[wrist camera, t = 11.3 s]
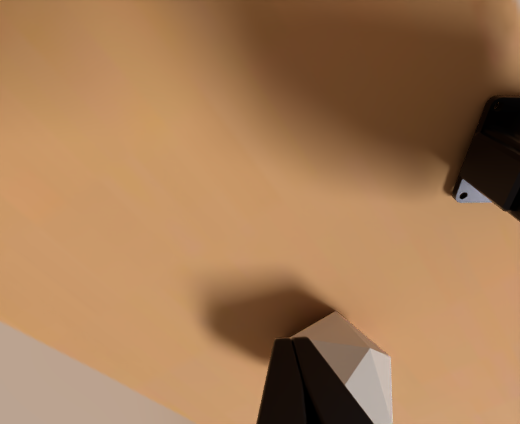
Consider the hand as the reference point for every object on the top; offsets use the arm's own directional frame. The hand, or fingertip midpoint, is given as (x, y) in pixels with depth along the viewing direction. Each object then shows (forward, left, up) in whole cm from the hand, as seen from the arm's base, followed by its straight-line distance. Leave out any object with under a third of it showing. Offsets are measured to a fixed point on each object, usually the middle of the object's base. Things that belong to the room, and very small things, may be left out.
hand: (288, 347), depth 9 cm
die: (-6, +16, -13) cm, 22 cm away
